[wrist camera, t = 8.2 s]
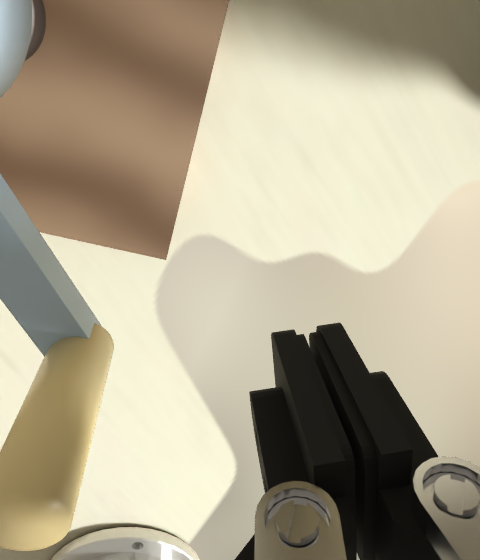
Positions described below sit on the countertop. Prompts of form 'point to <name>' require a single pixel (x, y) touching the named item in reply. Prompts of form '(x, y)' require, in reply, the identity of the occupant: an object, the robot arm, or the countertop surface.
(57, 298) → the lever handle
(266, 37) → the countertop surface
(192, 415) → the countertop surface
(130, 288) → the countertop surface
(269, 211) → the countertop surface
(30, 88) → the thread post
